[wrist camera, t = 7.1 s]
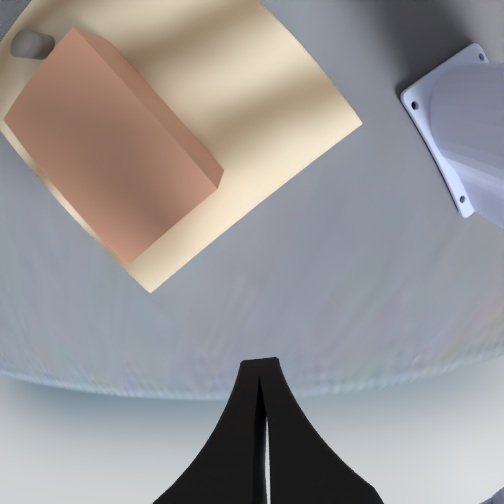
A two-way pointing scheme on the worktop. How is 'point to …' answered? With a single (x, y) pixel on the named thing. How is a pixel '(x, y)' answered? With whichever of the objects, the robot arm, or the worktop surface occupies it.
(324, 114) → the board
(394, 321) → the worktop surface
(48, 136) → the pink channel block
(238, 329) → the worktop surface
